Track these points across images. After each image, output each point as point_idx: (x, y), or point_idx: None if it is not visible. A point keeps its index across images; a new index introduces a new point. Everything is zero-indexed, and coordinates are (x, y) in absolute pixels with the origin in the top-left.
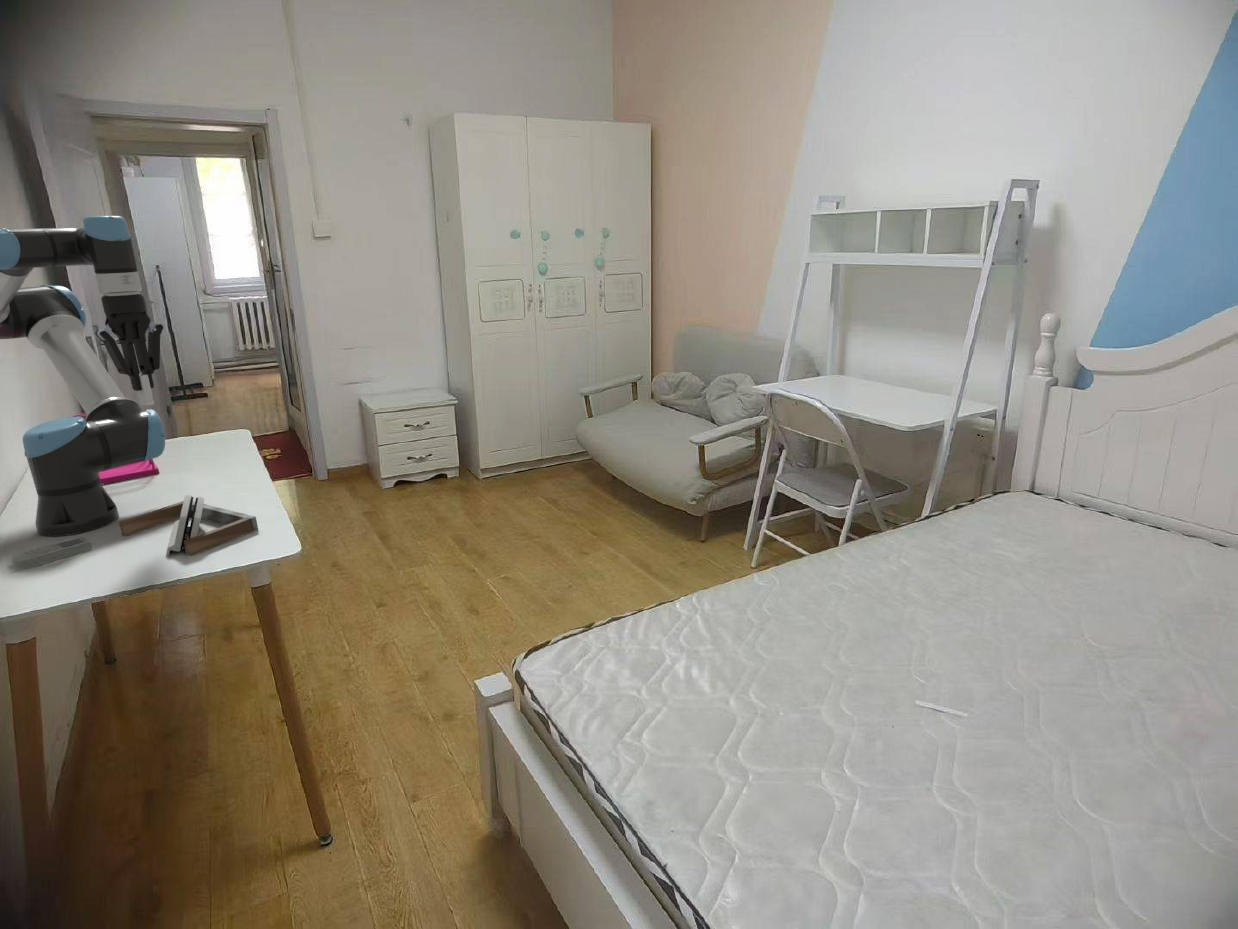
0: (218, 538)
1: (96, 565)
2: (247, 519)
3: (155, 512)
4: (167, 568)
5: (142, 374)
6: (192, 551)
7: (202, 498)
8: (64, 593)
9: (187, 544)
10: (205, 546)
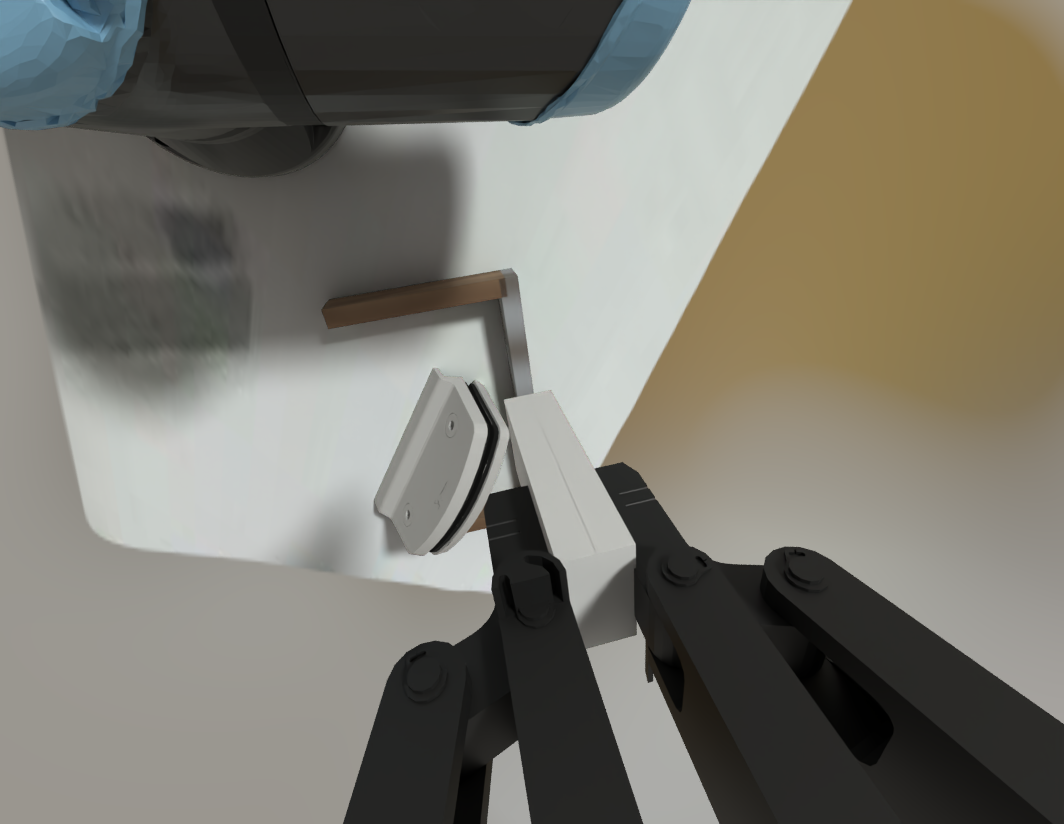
0: None
1: (250, 447)
2: None
3: (419, 311)
4: (361, 546)
5: (621, 594)
6: None
7: (493, 480)
8: (186, 532)
9: None
10: None
